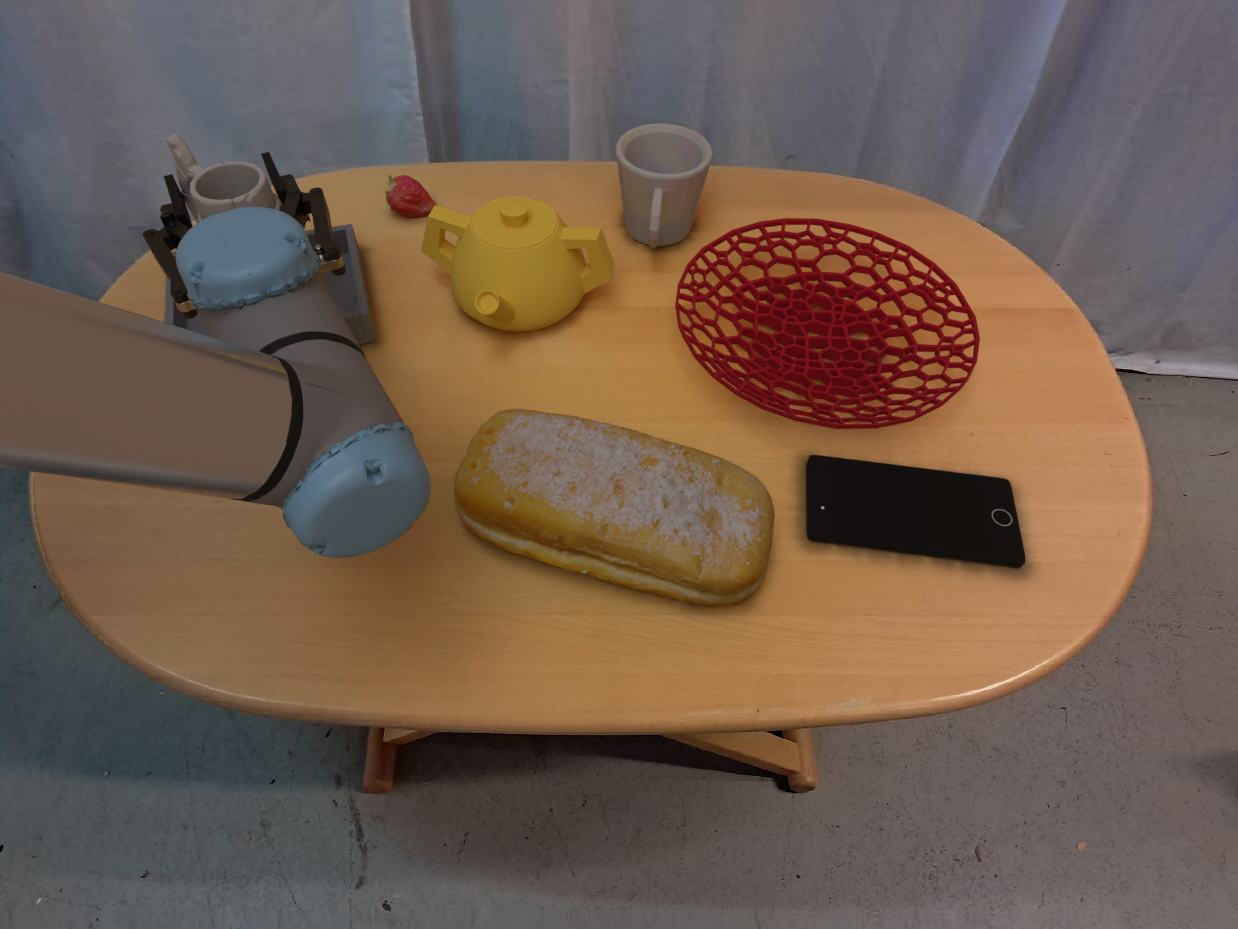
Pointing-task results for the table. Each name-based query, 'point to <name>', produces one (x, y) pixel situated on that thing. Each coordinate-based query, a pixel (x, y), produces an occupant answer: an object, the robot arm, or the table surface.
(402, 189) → the fruit
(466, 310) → the teapot
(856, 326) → the bowl
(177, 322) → the tray
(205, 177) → the mug
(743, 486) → the bread
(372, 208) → the table surface
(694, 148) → the mug
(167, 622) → the table surface
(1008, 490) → the cell phone
